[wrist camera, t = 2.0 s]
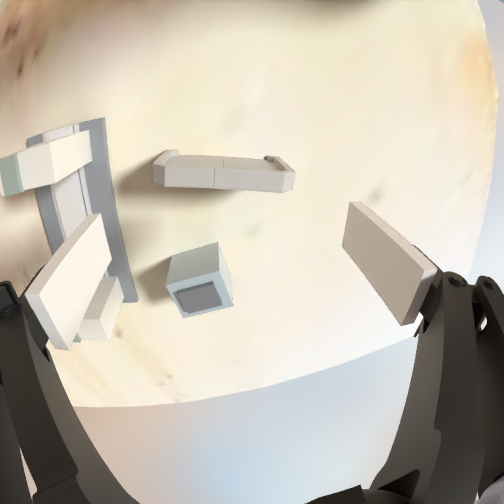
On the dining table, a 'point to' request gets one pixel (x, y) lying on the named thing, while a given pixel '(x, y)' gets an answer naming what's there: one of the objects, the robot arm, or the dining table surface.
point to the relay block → (200, 281)
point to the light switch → (222, 172)
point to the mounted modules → (49, 172)
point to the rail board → (85, 201)
